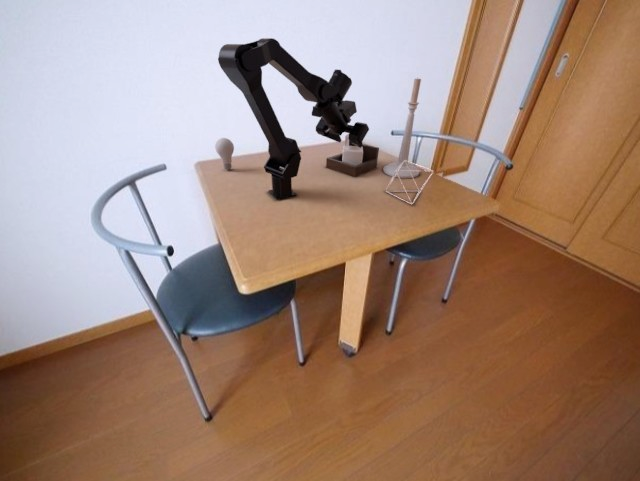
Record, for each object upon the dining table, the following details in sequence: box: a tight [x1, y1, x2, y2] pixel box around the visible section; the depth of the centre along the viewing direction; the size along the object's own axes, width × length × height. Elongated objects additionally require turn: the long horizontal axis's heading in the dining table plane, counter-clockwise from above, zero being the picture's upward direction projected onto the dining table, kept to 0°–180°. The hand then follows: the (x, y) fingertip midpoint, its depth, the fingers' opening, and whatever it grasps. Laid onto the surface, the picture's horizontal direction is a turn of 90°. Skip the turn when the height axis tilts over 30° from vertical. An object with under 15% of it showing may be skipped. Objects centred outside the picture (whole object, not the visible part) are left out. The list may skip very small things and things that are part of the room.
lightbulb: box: [214, 137, 235, 171], centre depth 99 cm, size 6×6×11 cm
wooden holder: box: [325, 143, 380, 178], centre depth 105 cm, size 13×13×8 cm
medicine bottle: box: [342, 133, 363, 165], centre depth 103 cm, size 7×7×12 cm
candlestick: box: [382, 78, 422, 179], centre depth 96 cm, size 13×13×30 cm
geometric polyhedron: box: [385, 160, 435, 205], centre depth 84 cm, size 12×11×9 cm
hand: (350, 143), depth 101 cm, fingers open, 9 cm apart
